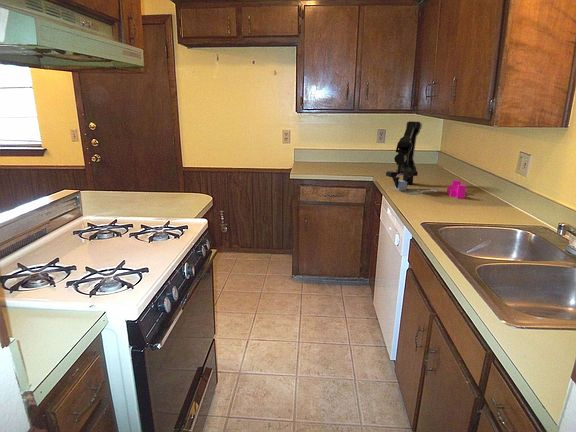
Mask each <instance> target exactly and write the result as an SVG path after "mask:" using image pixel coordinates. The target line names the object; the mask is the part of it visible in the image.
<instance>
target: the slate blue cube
mask: <svg viewBox="0 0 576 432" xmlns="http://www.w3.org/2000/svg"><path fill="white" fill-rule="evenodd" d="M407 187H408V185H407V182H406V181H403V179H399V180H398V188H396V186H395V185H394V189H395V190H397V191H406V190H408V189H407Z"/></svg>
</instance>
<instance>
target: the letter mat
mask: <svg viewBox="0 0 576 432" xmlns="http://www.w3.org/2000/svg"><path fill="white" fill-rule="evenodd" d="M400 192H401V193H404V194H407V195H422V194H424V195H425V194H433V193H437V194H438V193H443V191H442V190H439V189H436V188H426V189H425V188H422V189H407V190H400Z"/></svg>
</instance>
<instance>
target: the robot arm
mask: <svg viewBox="0 0 576 432" xmlns="http://www.w3.org/2000/svg"><path fill="white" fill-rule="evenodd" d="M405 125H406V129H405V130H404V134H403V136H402V137H401V138H400V139H399V141H398V142H397V146H396V148H395V153H397V154H396V155H395V156H394V160H393V161H394V162H395V164H396V166H397V169H396V170H387V171H386V172H385V176H386V177H390V178H391V179H392V180H393V184H394V187H395V186H396V188H398V180H400V178H401V177H400V176H403V177H402V180H403V181H406V182H407V186H409V185H415V182H414V177H418V175H419V173H418V171H417V166H416V163H415V160H414V157H415V156H414V155H415V149H416V144H417V143H416V142H417V136H418V135H419V134H420V132H421V130H422V127H423V124H422V123H421V121H413V120H412V121H411V120H409V121H407V122H406V124H405Z"/></svg>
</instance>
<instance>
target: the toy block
mask: <svg viewBox="0 0 576 432" xmlns="http://www.w3.org/2000/svg"><path fill="white" fill-rule="evenodd" d="M461 182H462V181H461V180H455V179H454V180H452V184H451V185H449V184H448V185H447V189H446V193H447V194H448V195H449V196H450V197H455V198H456V199H460V200H461V199H462V200H465V199H466V198H465V197H466V190H467V189H466V188H467V185H466V184H461Z"/></svg>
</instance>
